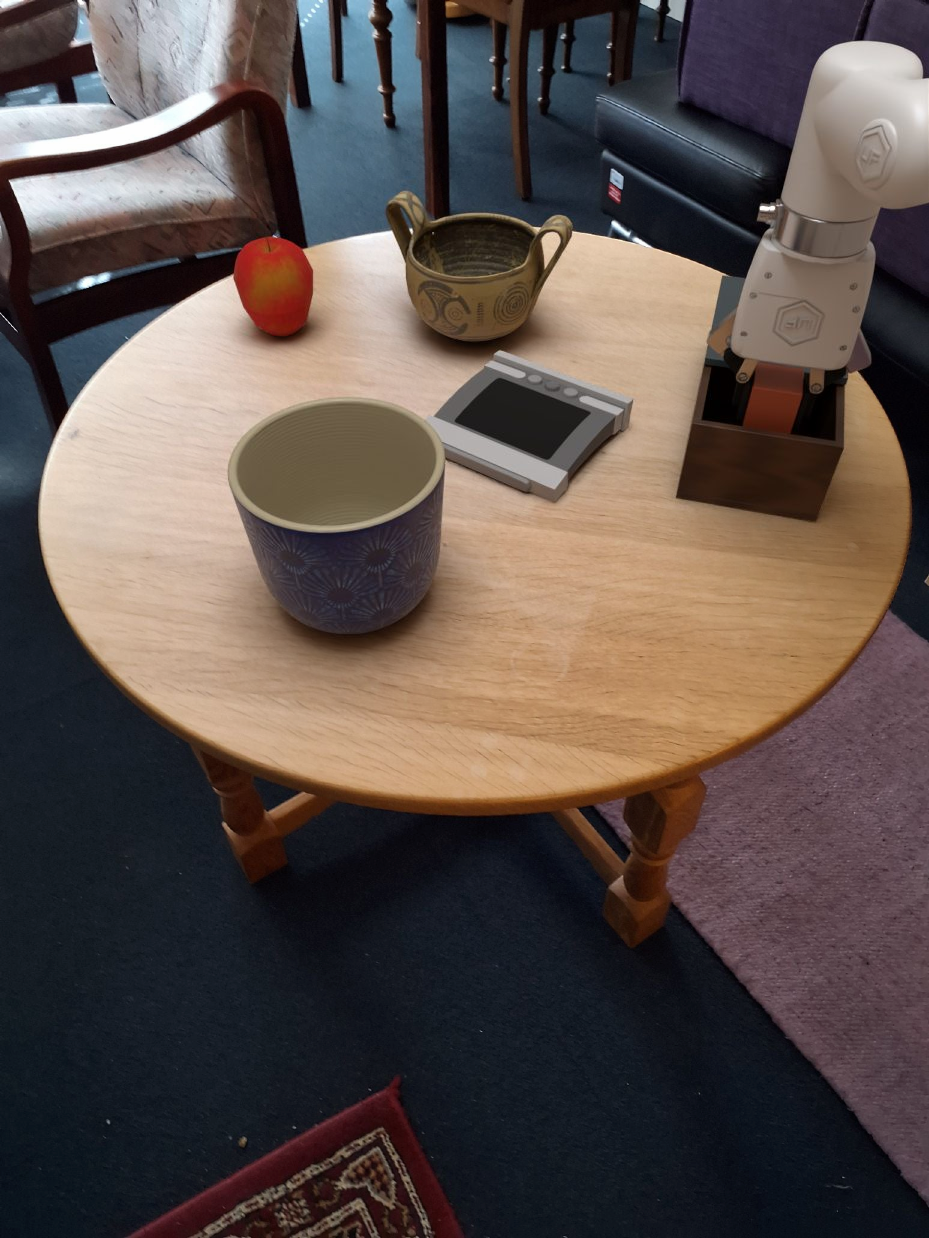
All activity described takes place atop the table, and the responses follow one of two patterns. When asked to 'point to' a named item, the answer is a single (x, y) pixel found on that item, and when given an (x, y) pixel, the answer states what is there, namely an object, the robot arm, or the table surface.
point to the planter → (342, 509)
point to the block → (774, 398)
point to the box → (760, 453)
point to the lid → (725, 306)
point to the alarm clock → (528, 424)
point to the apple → (274, 284)
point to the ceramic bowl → (473, 267)
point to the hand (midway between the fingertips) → (768, 415)
